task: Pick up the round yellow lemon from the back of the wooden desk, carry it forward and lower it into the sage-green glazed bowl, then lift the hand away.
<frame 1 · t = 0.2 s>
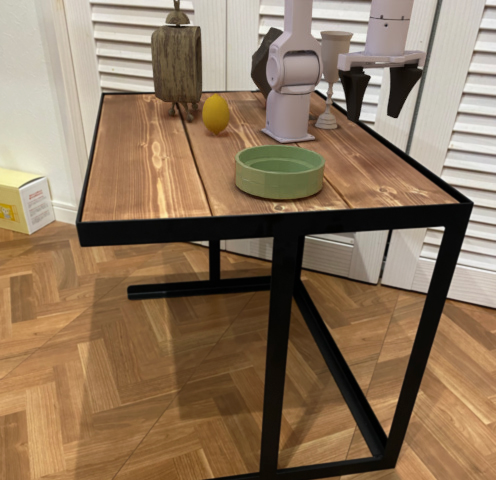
hand: (372, 118, 80), 10 cm above the table, tool pointing down, fingers open, 7 cm apart
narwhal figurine: (279, 112, 123), on the table
bowl: (278, 185, 83), on the table
tabletop clock: (180, 116, 117), on the table
chalice: (326, 126, 114), on the table
lemon: (216, 136, 105), on the table
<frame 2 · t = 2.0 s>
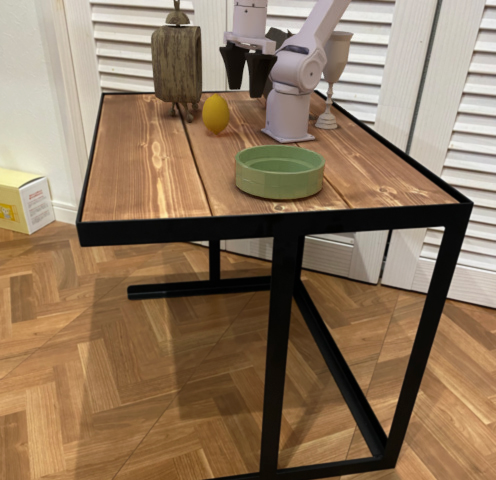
hand: (244, 93, 94), 10 cm above the table, tool pointing down, fingers open, 7 cm apart
nothing on the table moved.
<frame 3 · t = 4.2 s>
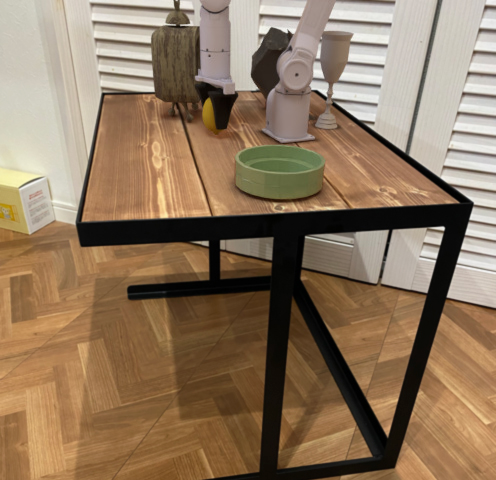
hand: (216, 125, 104), 2 cm above the table, tool pointing down, fingers closed on lemon, 5 cm apart
lemon: (216, 136, 105), on the table, touching gripper
everything else where it was.
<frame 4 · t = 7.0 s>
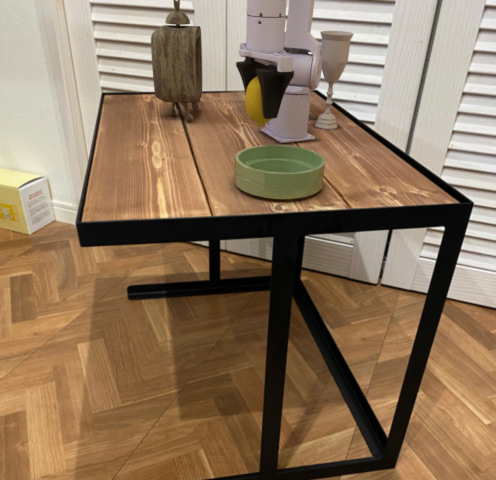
hand: (262, 113, 83), 9 cm above the table, tool pointing down, fingers closed on lemon, 5 cm apart
lemon: (260, 127, 84), point 7 cm above the table, touching gripper
everything else where it was.
when the fingers open (3 cm above the table, at t = 9.9 s): lemon stays where it is, resting on bowl.
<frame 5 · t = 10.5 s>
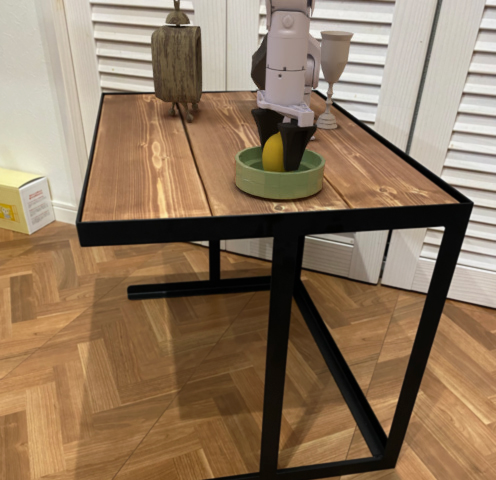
hand: (279, 162, 81), 4 cm above the table, tool pointing down, fingers open, 7 cm apart
lemon: (277, 183, 83), resting on bowl
everything else where it was.
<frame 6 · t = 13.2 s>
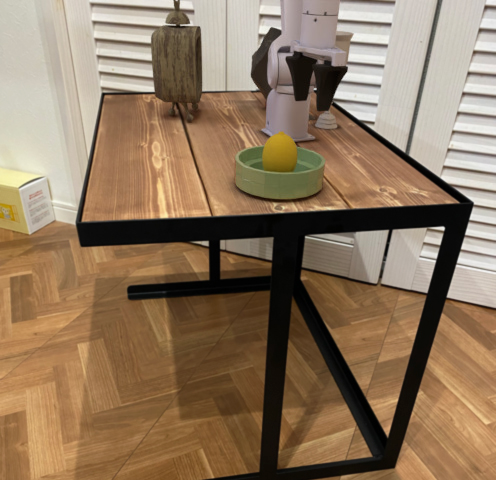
hand: (311, 105, 89), 9 cm above the table, tool pointing down, fingers open, 7 cm apart
nothing on the table moved.
at the end: lemon inside the target area in the bowl (0.1 cm from its centre), point 0.4 cm above the bowl's base; the gripper is holding nothing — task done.
